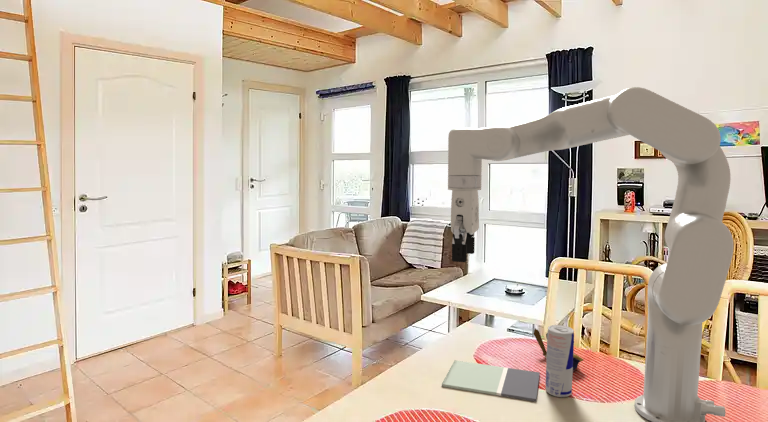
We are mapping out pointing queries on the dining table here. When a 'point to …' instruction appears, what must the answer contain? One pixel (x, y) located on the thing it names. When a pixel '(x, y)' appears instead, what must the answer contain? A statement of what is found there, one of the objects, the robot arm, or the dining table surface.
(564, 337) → the beverage can
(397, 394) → the dining table surface
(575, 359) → the toy
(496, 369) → the mat
